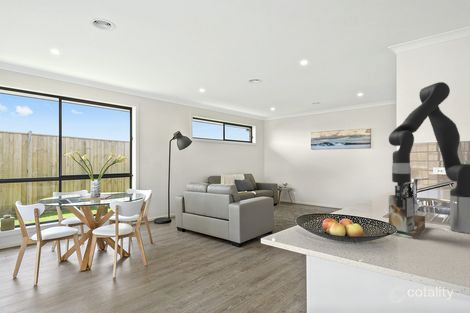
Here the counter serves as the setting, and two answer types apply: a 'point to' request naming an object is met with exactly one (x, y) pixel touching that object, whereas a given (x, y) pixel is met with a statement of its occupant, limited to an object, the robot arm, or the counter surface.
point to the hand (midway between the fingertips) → (401, 206)
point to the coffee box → (402, 214)
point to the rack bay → (420, 227)
